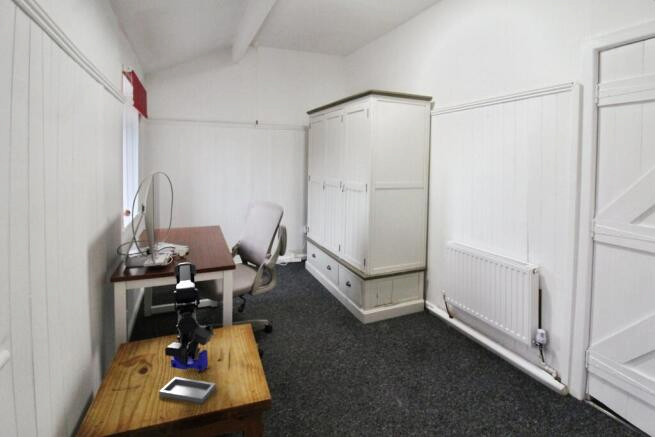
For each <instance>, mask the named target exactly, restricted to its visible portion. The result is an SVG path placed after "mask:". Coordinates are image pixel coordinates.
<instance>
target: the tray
mask: <svg viewBox="0 0 655 437" xmlns="http://www.w3.org/2000/svg"><path fill="white" fill-rule="evenodd" d="M216 384H217V383H215V382H209V381H203V380H196V379H192V378H191V379H190V378H184V377H178V376H174V377H173V378H172V379H171V380H170V381H168V383H167V384H165V385H164V386H163V387H162V388H161V389H160V390H158V392H159V393H158V396H159V397H160V398H166V399H173V400H178V401H181V402H182V401H183V402H188V403H194V404H200V405H203V404H204V403H205V402H206V401H207V399H209V397H210V396H211V395H212V394H213V393H214V391H215V390H216V389H217V385H216Z"/></svg>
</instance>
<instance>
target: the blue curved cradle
mask: <svg viewBox="0 0 655 437" xmlns="http://www.w3.org/2000/svg"><path fill="white" fill-rule="evenodd" d="M170 366H171V368H172V369H173V368H174V369H179V370H184V371H186V370H188V369H192V370H193V369H194V370H198V371H204V370H205V369H206V368H207V367H208V366H209V359H208V350H206V349H203V350H201V351H200V352H199V353H198V355H197V358H196V359H192V358H191V357H190V356H188V362H187V366H184V365H183V364H182V362H181V361H180V359H179V358H178V357H174V356H173V357H172V358H171V359H170Z"/></svg>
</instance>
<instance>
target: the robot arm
mask: <svg viewBox="0 0 655 437" xmlns="http://www.w3.org/2000/svg"><path fill="white" fill-rule="evenodd" d="M173 277H174V279H176V280H175V281H176V286H175V290H174V291H173V302H174V303H173V305H174V312H177V325H175V327H176V328H175V329H177V336H176V340H177V341H178V342H171V344H169V345H168V346H167V347H166V348H164V355H165V356H168V357H173V358H174V357H178V358H179V359H180V361H181V362H182V364H183V365H184V366H187V362H188V357H190V359H194V360H196V359H195V358H196V356H197V353H198V351H200V350H201V348H200V346H199V345H201V346H205V345H207V343H209V342H210V341H211V337H212V336H213V335H214V328H213V325H212V324H208V325H204V324H203V325H202V324H201V325H200V322H199V321H197V314H196V309H199V305H201V302H200V301H201V300H200V290H199V289H198V288H196V285H195V277H197V266H196V265H195V264H192V263H191V262H179V263H178V264H177V265H176V266H174V267H173Z"/></svg>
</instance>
